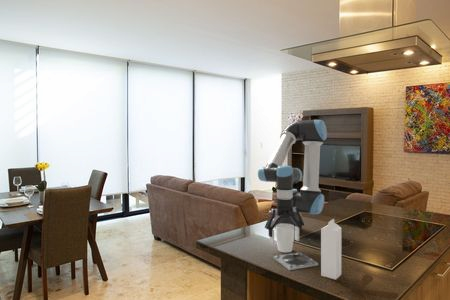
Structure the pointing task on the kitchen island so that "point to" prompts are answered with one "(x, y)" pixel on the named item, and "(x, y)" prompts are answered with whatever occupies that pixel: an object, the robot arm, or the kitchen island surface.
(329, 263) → the milk
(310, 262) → the flange
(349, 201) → the kitchen island surface
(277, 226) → the cup
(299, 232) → the robot arm
